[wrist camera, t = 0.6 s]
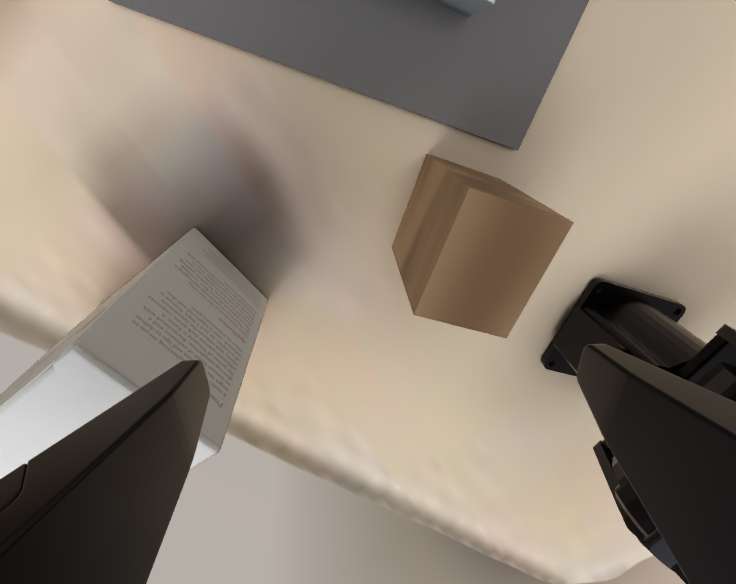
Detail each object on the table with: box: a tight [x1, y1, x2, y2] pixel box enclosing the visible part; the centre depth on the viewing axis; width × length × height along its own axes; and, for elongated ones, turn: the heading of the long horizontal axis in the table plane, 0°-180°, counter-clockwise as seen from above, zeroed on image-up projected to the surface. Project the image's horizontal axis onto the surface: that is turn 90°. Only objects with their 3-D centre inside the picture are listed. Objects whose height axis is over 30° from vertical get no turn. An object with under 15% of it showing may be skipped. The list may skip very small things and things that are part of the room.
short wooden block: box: [392, 154, 574, 338], centre depth 17 cm, size 4×5×7 cm
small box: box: [0, 228, 268, 479], centre depth 17 cm, size 8×6×10 cm
